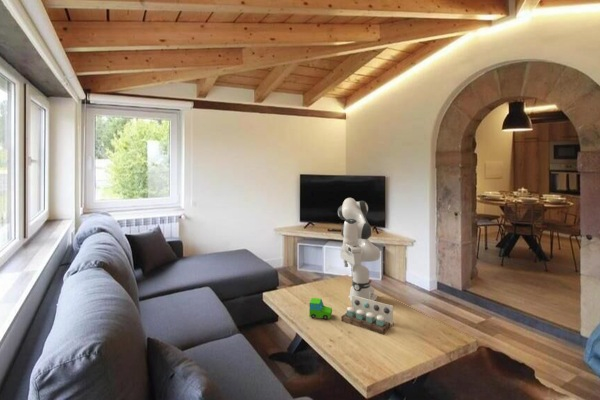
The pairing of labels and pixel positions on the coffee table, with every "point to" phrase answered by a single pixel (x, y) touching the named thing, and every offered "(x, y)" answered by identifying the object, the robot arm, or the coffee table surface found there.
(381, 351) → the coffee table surface
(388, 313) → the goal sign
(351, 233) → the robot arm
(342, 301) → the coffee table surface
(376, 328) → the walnut button board
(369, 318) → the button
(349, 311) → the button
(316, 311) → the toy car
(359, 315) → the button
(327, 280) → the coffee table surface
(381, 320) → the button
